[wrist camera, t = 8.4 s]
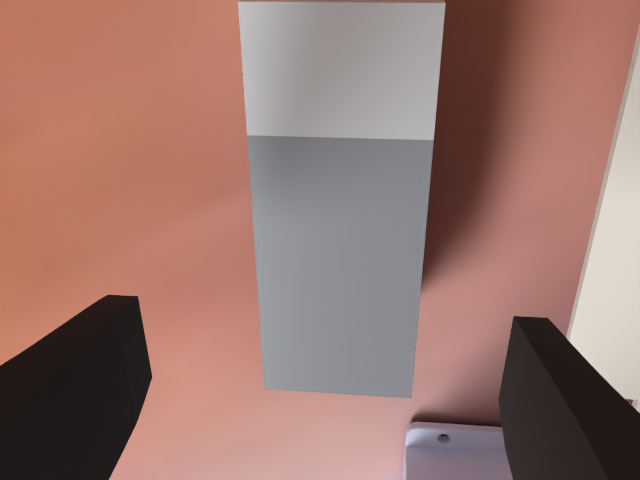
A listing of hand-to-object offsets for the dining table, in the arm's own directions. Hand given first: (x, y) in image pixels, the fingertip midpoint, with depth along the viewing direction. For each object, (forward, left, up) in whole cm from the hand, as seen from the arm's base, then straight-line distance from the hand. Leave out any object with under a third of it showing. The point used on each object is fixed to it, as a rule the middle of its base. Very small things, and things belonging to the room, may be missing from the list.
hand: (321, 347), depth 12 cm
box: (0, 0, -10) cm, 10 cm away
